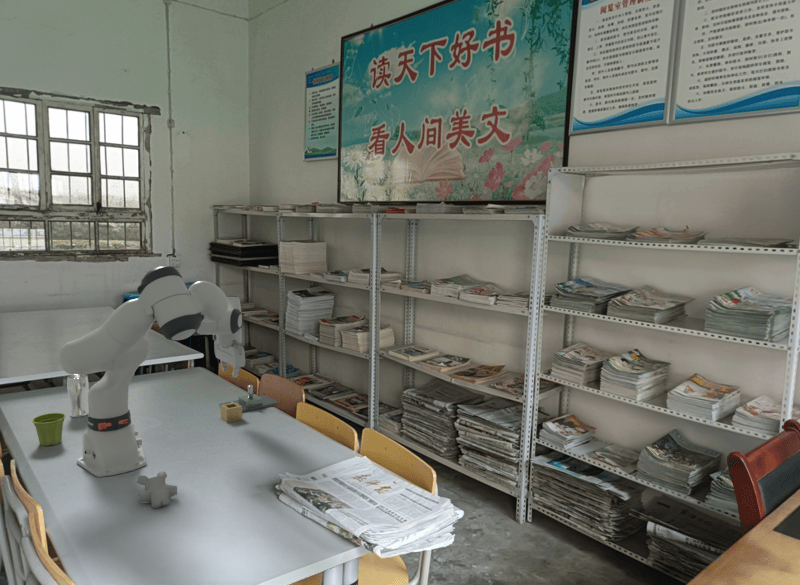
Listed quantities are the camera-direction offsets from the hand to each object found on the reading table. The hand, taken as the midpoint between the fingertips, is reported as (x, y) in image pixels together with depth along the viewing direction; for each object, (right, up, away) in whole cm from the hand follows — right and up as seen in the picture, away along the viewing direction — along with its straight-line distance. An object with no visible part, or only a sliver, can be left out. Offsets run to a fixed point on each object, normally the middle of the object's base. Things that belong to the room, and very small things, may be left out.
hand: (230, 374), depth 209 cm
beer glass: (-58, -16, +3) cm, 61 cm away
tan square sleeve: (0, -17, +3) cm, 18 cm away
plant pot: (-53, -20, -24) cm, 61 cm away
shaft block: (+3, -16, +17) cm, 23 cm away
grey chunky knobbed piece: (-2, -25, -58) cm, 63 cm away
